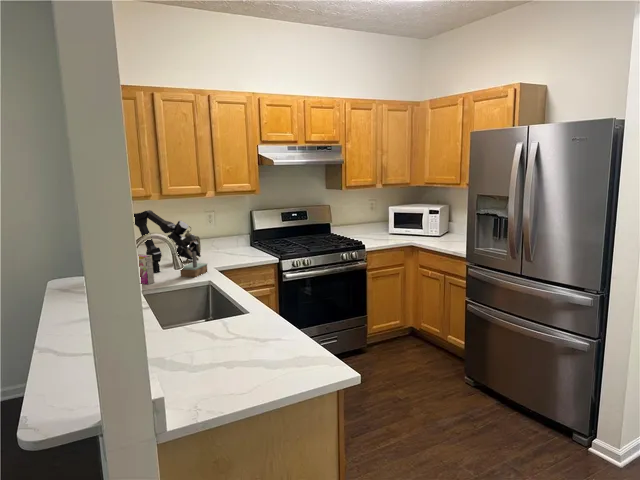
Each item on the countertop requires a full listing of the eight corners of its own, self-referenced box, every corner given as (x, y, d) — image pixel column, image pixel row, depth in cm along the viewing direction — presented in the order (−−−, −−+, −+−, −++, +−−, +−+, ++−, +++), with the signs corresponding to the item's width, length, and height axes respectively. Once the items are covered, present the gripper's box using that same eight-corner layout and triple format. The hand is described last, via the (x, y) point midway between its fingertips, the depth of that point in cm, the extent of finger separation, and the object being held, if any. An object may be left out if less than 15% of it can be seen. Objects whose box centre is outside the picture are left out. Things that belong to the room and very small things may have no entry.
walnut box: (195, 277, 260) (194, 270, 259) (180, 276, 263) (180, 269, 262) (207, 272, 273) (207, 265, 272) (193, 271, 276) (192, 264, 275)
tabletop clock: (188, 263, 299) (185, 227, 295) (177, 263, 302) (175, 227, 298) (201, 259, 312) (199, 225, 308) (191, 258, 315) (188, 224, 311)
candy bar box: (133, 283, 250) (131, 255, 247) (140, 281, 254) (138, 253, 252) (148, 284, 245) (145, 256, 243) (154, 282, 250) (152, 254, 247)
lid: (195, 270, 259) (193, 253, 257) (179, 269, 262) (178, 252, 260) (207, 264, 273) (206, 248, 271) (192, 264, 275) (191, 248, 274)
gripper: (177, 232, 251) (195, 251, 250) (194, 228, 269) (211, 246, 268) (166, 245, 255) (184, 264, 254) (184, 240, 272) (201, 258, 271)
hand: (196, 258), depth 261 cm, fingers open, 9 cm apart
